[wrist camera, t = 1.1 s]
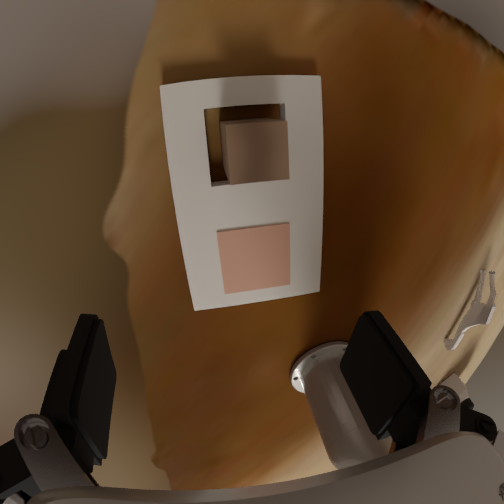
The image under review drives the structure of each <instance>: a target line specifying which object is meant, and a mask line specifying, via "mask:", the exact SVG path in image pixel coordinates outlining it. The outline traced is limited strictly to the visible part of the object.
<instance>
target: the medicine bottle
mask: <svg viewBox="0 0 504 504" xmlns="http://www.w3.org/2000/svg"><path fill="white" fill-rule="evenodd" d="M439 385H445V386H448V387H450V388H452V389H453V390H454V391H455V392H456V393H457V394H458V396H459V398H460V403H461V406H464V407H466V408H469V409H473V407H474V404H473V403H472V401H471V400H470V398H469V397H468V389H467V387H466V386H465V385H464V383H463V382H462V381H461V379H460V378H459V377H458V376H457V374H456V373H453V374H452V375H451V376H449V377H448V378H447V379H446V380H444V381H443V382H442V383H441V384H439Z"/></svg>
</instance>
